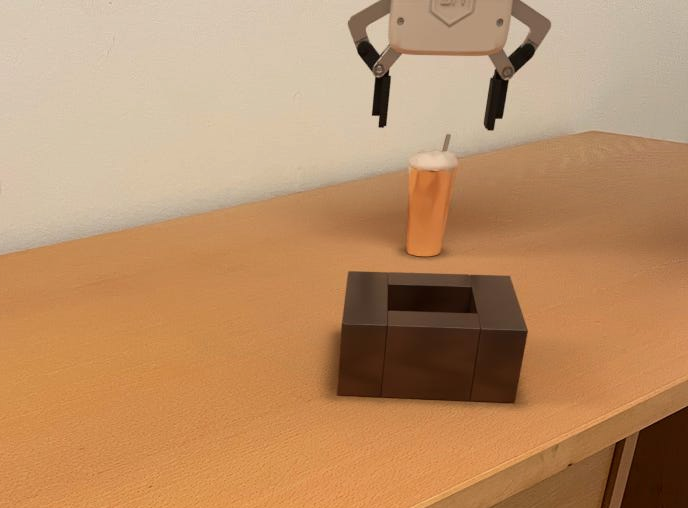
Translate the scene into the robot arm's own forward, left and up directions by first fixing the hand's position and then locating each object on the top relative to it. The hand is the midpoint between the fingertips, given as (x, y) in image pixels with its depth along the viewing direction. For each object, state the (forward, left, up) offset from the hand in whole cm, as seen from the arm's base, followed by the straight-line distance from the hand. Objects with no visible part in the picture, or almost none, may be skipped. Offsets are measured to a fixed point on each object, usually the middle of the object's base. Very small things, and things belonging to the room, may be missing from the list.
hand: (434, 126), depth 89 cm
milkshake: (0, 0, -11) cm, 11 cm away
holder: (+1, +31, -11) cm, 33 cm away
